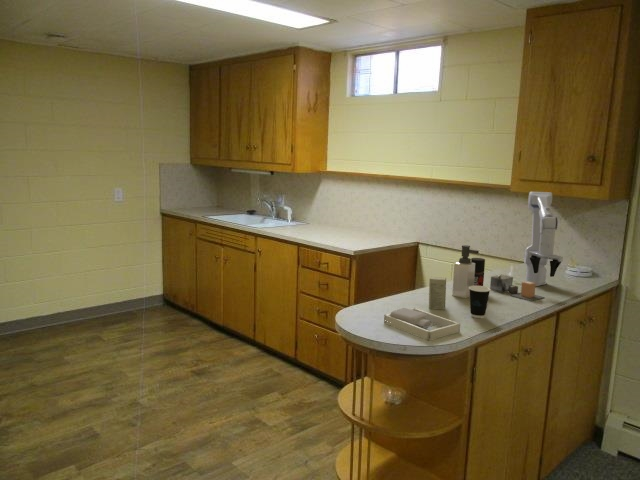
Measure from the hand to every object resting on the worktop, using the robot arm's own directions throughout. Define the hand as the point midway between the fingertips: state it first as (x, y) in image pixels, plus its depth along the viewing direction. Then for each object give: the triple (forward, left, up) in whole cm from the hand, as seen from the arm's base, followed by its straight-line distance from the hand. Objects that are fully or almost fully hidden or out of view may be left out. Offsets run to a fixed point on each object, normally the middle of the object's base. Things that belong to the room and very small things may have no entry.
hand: (543, 274), depth 228 cm
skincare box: (+54, -13, -10) cm, 56 cm away
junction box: (+7, -16, -9) cm, 20 cm away
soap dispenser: (+30, -18, -10) cm, 36 cm away
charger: (+78, -2, -10) cm, 79 cm away
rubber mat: (+8, -2, -9) cm, 13 cm away
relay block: (+8, -2, -9) cm, 12 cm away
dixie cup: (+49, +3, -10) cm, 50 cm away
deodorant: (+20, -20, -10) cm, 30 cm away
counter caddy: (+77, 0, -9) cm, 78 cm away
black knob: (+7, -10, -10) cm, 15 cm away
